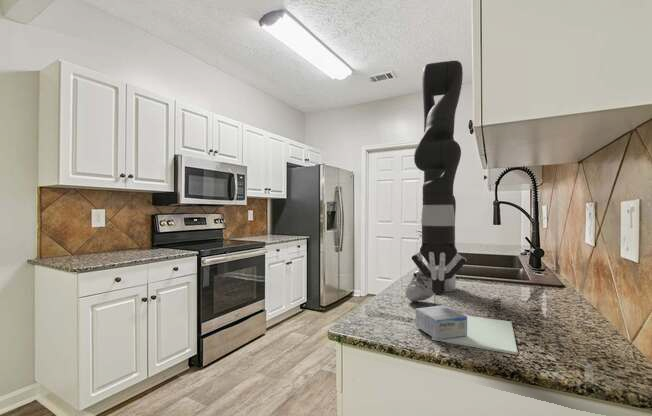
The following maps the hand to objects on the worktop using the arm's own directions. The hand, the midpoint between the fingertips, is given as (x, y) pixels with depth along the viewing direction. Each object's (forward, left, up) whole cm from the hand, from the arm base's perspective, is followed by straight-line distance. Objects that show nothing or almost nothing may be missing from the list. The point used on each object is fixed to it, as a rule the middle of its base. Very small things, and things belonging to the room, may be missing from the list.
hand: (438, 294), depth 76 cm
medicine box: (+1, -2, -5) cm, 5 cm away
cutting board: (0, +8, -8) cm, 11 cm away
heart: (-16, -7, -8) cm, 19 cm away
